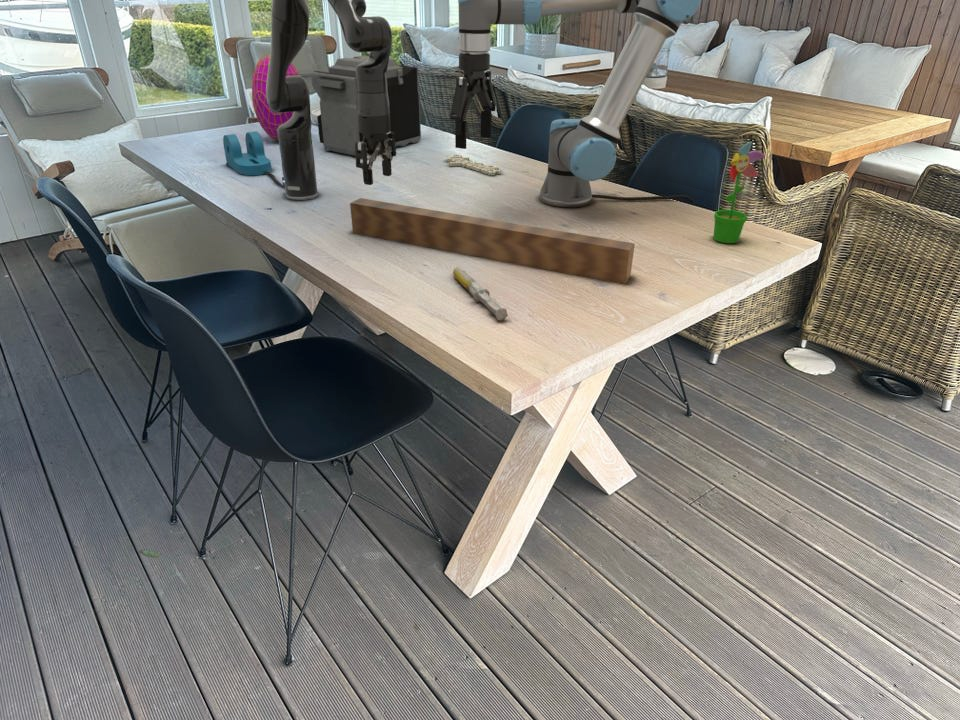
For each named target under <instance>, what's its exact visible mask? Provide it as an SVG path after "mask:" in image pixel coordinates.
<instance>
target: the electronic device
mask: <svg viewBox="0 0 960 720" xmlns="http://www.w3.org/2000/svg"><path fill="white" fill-rule="evenodd" d="M368 58H369V55H368V56H367V55H356V56H353V57H350V58H349V57H343V58H342V57H341V58H337V59H336V60H335V63H334V64H333V65H330V66H329V67H328V72H327V71H320V70H314V71H313V70H312V71H310V79H311V87H313V90H314V91H315V93H316V94H317V96H318V98H319V108H320V111H321V115H319V116H318V117H317V120H318V124H317V128H318V138H319V143H320V144H323V146H324V149H325V150H327V151H330V152H335V153H340V154H344V155H348V156H353V157H356V154H355V143H356V142H363V137H364V136H363V134H362V133H360V132H359V125H358V112H357V84H356V67H357V66H358V65H359V64H361V63H364V62H366V61H367V60H368ZM386 74H387V91H388V98H389V108H390V127H391V130H390V132H394V133H395V145H396V147H405V146H407V145H408V144H416V143H418V142H419V141H421V137H422V128H421V97H420V92H419V91H420V89H419V68H418V67H417V66H408V65H400V64H396V62H395V60H394V59H393V58H389V62H388V67H387V73H386ZM389 148H390V150H391V151H392V148H391V147H390V146H389ZM367 155H368V153H367ZM368 156H369V155H368Z"/></svg>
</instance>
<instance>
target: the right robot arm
mask: <svg viewBox="0 0 960 720" xmlns="http://www.w3.org/2000/svg"><path fill="white" fill-rule="evenodd" d="M701 2H702V0H457V3H458V37H457V39H458V50H459V54H458V69H459V70H460V71H462V72H463V76H456V78H455V88H454V89H455V90H454V94H453V99H452V103H451V108H450V114H449V119H450V121H453V122H454V130H455V131H454V135H455V137H454V138H455V139H454V141H455V144H454V147H455V149H461V150H466V149H467V121H466V120H465V119H466V117H467V114H468V110H469V107H470V105H471V102H472V99H473V98H475V95H476V96H477V99H478V101H479V103H480V106H481V108H482V110H481V111H480V138H486V139H491V138H492V117H493V116H492V115H493V114H492V112H496V110H497V108H496V107H497V102H496V96H495V91H494V86H493V81H492V71H491V70H490V67H491V54H490V53H489V52H490V51H491V26H492V25H495V26H496V25H497V26H498V25H523V26H527V25H535V24H538V22H539V21H540V18H541V17H549V16H559V15H560V16H561V15H571V14H581V13H583V14H584V13H593V12H605V11H614V12H615V13H616V14H633V17H634V21H635V22H634V23H635V24H634V26H633V27H632V30H631V31H630V34H629V35H628V38H627V40H626V42H625V44H624V45H623V48H622V50H621V52H620V53H619V56H618V58H617V60H616V61H615V63H614V65H613V67H612V70H611V71H610V73H609V76H608V77H607V80H606V81H605V84H604V86H603V88H602V90H601V91H600V93H599V95H598V97H597V100H596V101H595V104H594V106H593V108H592V109H591V111H590V112H589V114H588V115H586V116H584V117H581V118H558V119H554V120H552V122H551V123H550V127H549V128H550V129H549V132H548V134H549V141H548V142H549V143H548V156H547V158H548V159H547V173H546V176H545V178H544V181H543V184H542V187H541V189H540V192H539V200H540V202H542V203H543V204H546V205H549V206H553V207H558V208H559V207H560V208H580V207H584V206H588V205H589V204H591V203H592V199H604V200H614V201H629V202H630V201H632V202H633V201H655V200H656V201H657V200H675V199H684V200H687V201H689V202H690V203H691V204H695V203H696V202H695V200H694V199H693V198H692V197H691V196H689V195H687V194H674V195H654V196H614V195H605V194H594V193H592V188H591V184H590V182H596V181H599V180H601V179H603V178H605V177H607V176H608V175H609V174H610V173H611V172H612V170H613V169H614V168H615V165H616V162H617V151H616V148H617V146H618V144H619V142H620V140H621V135H620V131H619V130H620V128H621V126H622V124H623V123H624V121H625V118H626V117H627V114H628V112H629V111H630V109H631V107H632V105H633V103H634V101H635V99H636V98H637V95H638V93H639V92H640V89H641V88H642V86H643V84H644V82H645V80H646V78H647V77H648V75H649V72H650V71H651V68H653V67H652V66H653V65H654V63H655V61H656V59H657V57H658V55H659V53H660V51H661V49H662V47H663V46H664V43H665V42H666V41H667V39H669V38H671V37H674V36H676V34H677V32H678V30H679V28H680V26H681V25H682V23H683V22H684V21H687V20H688V19H690V18H692V17H693V16H694V15H695V14H696V12H697V11H698V9H699V7H700V5H701Z"/></svg>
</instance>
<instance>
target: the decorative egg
mask: <svg viewBox="0 0 960 720" xmlns="http://www.w3.org/2000/svg"><path fill="white" fill-rule="evenodd" d="M269 60H270V54H268V55H265V56H262V57H261V58H260V59H259V60H258V61H257V62H256V65H255V68H254V69H253V70H254V71H253V73H252V77H251V101H252V107H253V110H254V114H255V116H256V118H257V121H258V123H259V125H260V127H261V128H262V130H263V131H264V133H266V135H267V136H268V137H270V138H271V139H273V140H275V141H279V139H278V131H277V129H278V127H279V126H280V125H282V124H283V123H285V122H286V121H288V120H289V119H290V118H291V117H292V115H293V112H287V113H275V112H273V111H272V110H271V109H270V108H269V105H268V103H267V97H266V83H267V75H268V67H269ZM286 76H301V75H300V73H299V71H298V69H297V67H296V66H295V65H294V63H293V61H292V62H291V64H290V66H289V68H288V70H287V74H286Z"/></svg>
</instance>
